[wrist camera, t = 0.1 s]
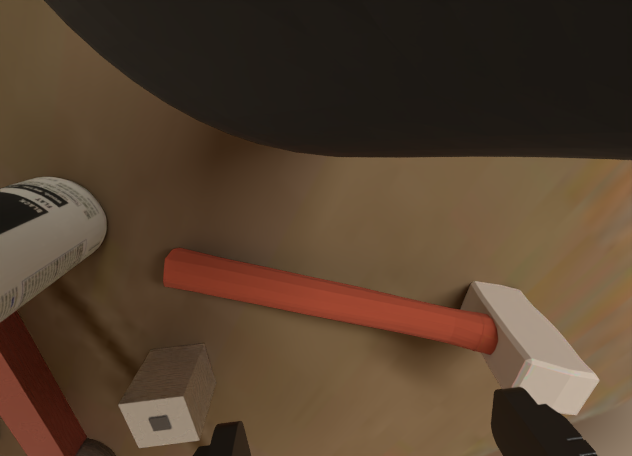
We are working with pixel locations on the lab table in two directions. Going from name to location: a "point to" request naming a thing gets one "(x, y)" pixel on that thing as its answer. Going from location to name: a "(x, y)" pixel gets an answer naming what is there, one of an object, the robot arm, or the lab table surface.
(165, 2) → the robot arm
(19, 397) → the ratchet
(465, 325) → the mallet
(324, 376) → the lab table surface
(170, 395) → the cube with square hole
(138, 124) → the lab table surface
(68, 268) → the spray can
